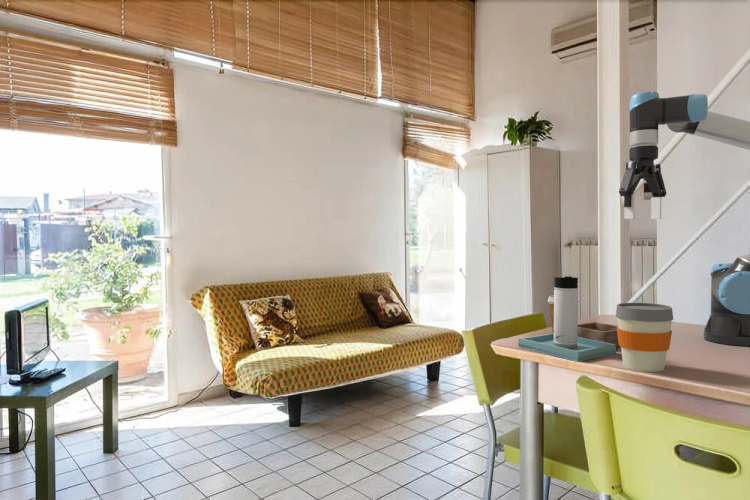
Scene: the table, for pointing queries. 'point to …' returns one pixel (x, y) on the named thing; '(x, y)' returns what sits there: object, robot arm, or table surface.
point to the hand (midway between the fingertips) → (643, 219)
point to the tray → (582, 352)
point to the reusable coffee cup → (644, 335)
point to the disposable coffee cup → (552, 310)
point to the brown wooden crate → (599, 332)
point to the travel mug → (565, 312)
